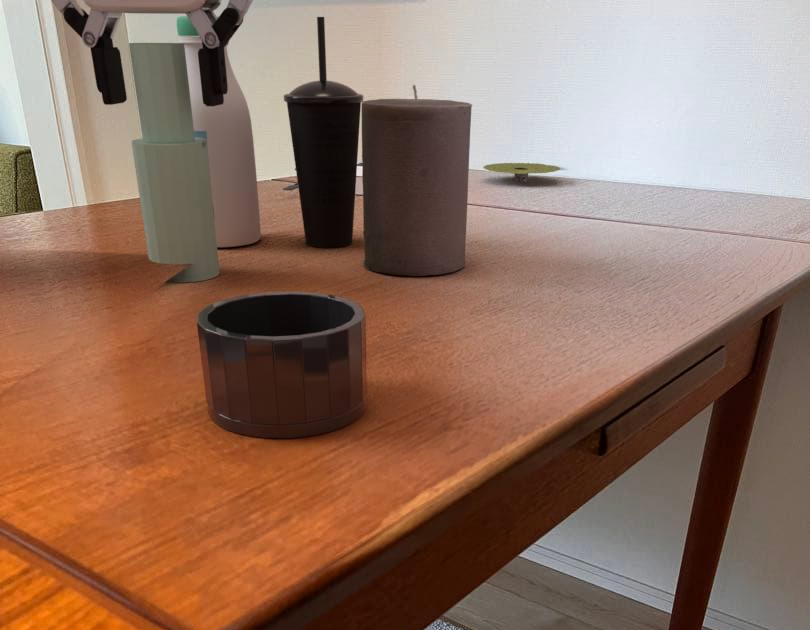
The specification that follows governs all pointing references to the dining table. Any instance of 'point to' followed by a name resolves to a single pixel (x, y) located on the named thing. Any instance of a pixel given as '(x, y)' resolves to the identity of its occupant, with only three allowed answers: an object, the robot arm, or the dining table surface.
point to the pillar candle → (415, 185)
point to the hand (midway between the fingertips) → (164, 103)
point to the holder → (284, 363)
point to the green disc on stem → (521, 169)
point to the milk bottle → (225, 149)
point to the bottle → (172, 165)
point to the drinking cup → (325, 153)
